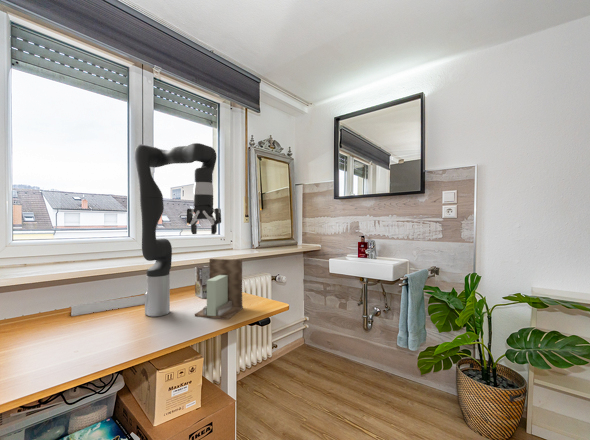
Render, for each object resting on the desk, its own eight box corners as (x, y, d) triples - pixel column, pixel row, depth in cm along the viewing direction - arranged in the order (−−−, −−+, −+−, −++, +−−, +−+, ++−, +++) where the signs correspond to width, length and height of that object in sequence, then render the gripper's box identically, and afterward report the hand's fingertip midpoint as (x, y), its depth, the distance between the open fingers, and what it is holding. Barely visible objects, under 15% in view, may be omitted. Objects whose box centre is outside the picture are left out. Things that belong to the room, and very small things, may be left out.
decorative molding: (72, 317, 131) (71, 317, 123) (72, 306, 132) (71, 305, 124) (153, 303, 151) (157, 302, 144) (152, 294, 152) (156, 293, 145)
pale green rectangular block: (205, 315, 121) (205, 280, 121) (218, 306, 133) (218, 274, 133) (215, 316, 120) (215, 280, 120) (227, 307, 132) (227, 275, 132)
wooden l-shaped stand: (194, 316, 123) (194, 263, 123) (211, 305, 138) (211, 258, 138) (228, 319, 120) (228, 264, 120) (242, 308, 134) (242, 259, 134)
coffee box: (213, 296, 154) (213, 266, 154) (202, 298, 150) (201, 268, 150) (205, 293, 161) (205, 264, 161) (194, 295, 156) (194, 266, 156)
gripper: (224, 194, 117) (224, 233, 117) (193, 195, 120) (193, 233, 120) (215, 193, 110) (215, 234, 110) (182, 193, 113) (182, 234, 113)
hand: (203, 234), depth 115 cm, fingers open, 8 cm apart
